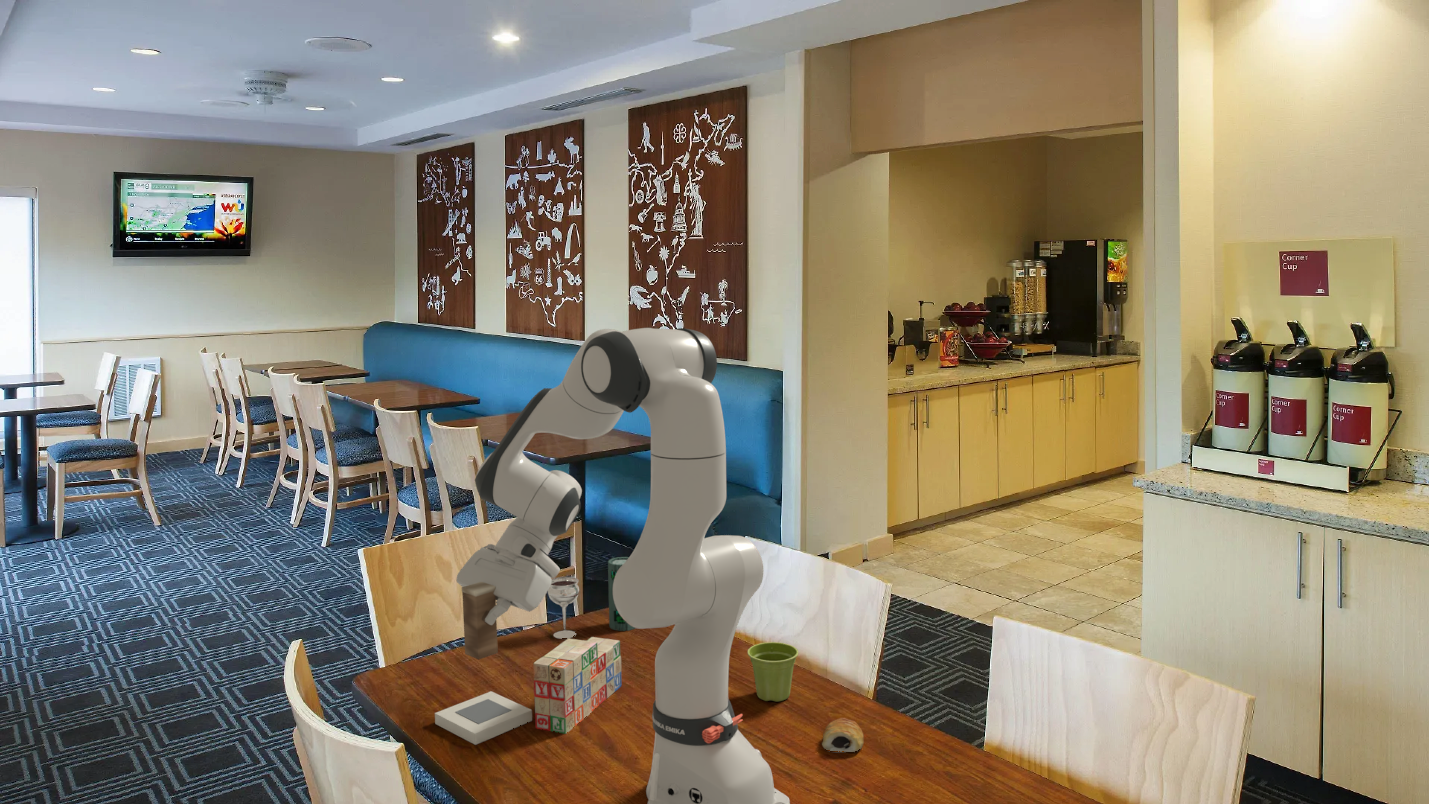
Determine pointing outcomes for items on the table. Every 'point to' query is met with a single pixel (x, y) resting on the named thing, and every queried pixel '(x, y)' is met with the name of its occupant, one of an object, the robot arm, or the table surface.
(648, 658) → the table surface
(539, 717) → the stack of blocks
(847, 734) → the pastry
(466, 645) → the brown tall block
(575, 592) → the wineglass
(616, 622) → the can
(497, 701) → the plate
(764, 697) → the plant pot
